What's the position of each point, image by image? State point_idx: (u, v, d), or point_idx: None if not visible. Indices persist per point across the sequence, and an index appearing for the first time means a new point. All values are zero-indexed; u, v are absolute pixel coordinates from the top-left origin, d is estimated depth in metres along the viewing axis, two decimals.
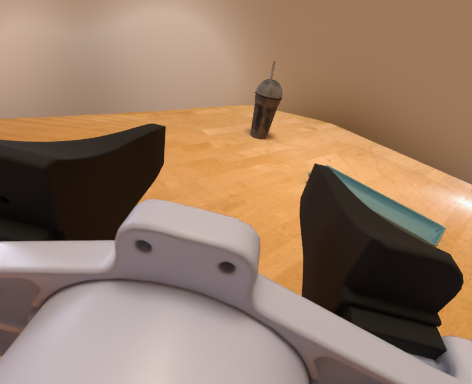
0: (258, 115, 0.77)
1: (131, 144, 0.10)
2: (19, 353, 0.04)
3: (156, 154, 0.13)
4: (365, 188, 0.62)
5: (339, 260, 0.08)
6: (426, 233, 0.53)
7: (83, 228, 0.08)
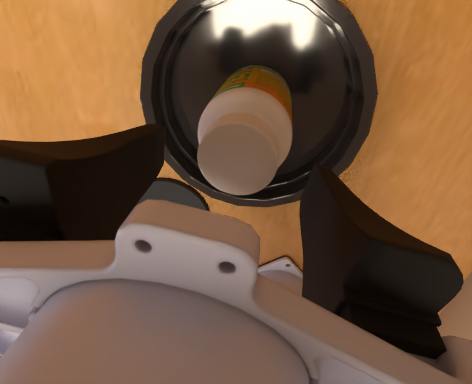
0: None
1: (131, 144, 0.10)
2: (19, 353, 0.04)
3: (156, 154, 0.13)
4: None
5: (339, 260, 0.08)
6: None
7: (83, 228, 0.08)
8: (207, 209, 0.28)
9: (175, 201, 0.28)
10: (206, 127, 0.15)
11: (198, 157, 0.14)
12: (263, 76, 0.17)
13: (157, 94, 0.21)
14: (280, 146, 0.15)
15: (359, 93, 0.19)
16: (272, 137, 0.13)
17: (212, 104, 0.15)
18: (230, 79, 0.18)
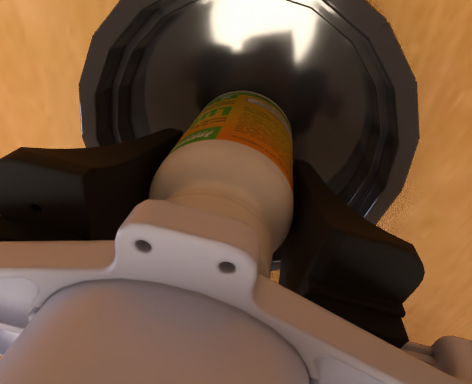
0: None
1: (153, 149, 0.10)
2: (19, 353, 0.04)
3: None
4: None
5: (307, 252, 0.08)
6: None
7: (110, 235, 0.08)
8: None
9: None
10: None
11: None
12: (251, 112, 0.12)
13: (109, 129, 0.15)
14: (275, 231, 0.10)
15: (389, 133, 0.13)
16: (259, 236, 0.08)
17: (166, 167, 0.09)
18: (203, 115, 0.12)
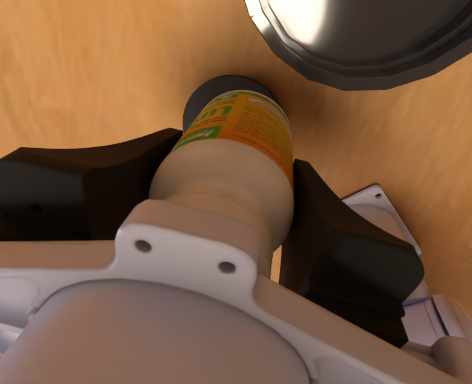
0: None
1: (153, 149, 0.10)
2: (19, 353, 0.04)
3: None
4: None
5: (307, 252, 0.08)
6: None
7: (110, 235, 0.08)
8: None
9: None
10: None
11: None
12: (251, 112, 0.12)
13: None
14: (275, 230, 0.10)
15: None
16: (260, 236, 0.08)
17: (167, 166, 0.09)
18: (204, 114, 0.12)
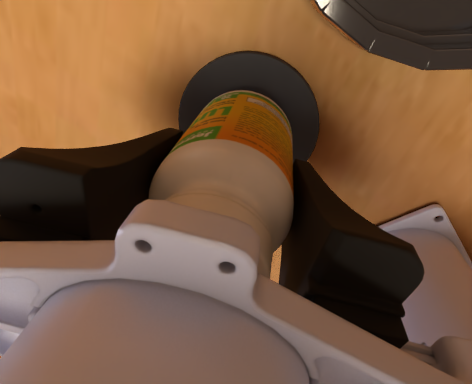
0: None
1: (153, 149, 0.10)
2: (19, 353, 0.04)
3: None
4: None
5: (307, 252, 0.08)
6: None
7: (110, 235, 0.08)
8: None
9: None
10: None
11: None
12: (251, 112, 0.12)
13: None
14: (275, 230, 0.10)
15: None
16: (259, 236, 0.08)
17: (166, 167, 0.09)
18: (203, 114, 0.12)
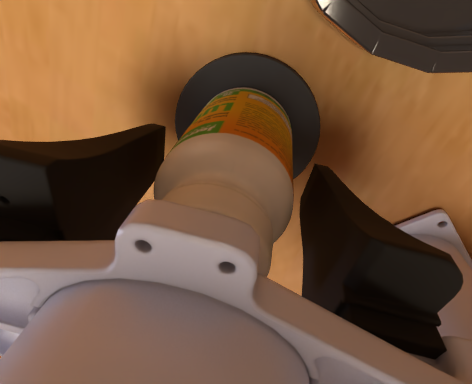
0: None
1: (130, 143, 0.10)
2: (19, 353, 0.04)
3: (156, 154, 0.13)
4: None
5: (339, 260, 0.08)
6: None
7: (83, 228, 0.08)
8: None
9: None
10: (163, 192, 0.10)
11: None
12: (252, 108, 0.12)
13: None
14: (275, 221, 0.10)
15: None
16: (261, 224, 0.08)
17: (171, 159, 0.10)
18: (206, 110, 0.13)
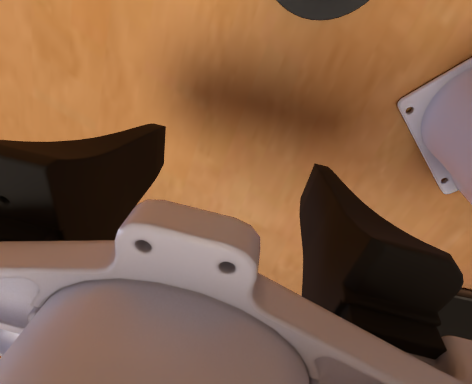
0: None
1: (130, 143, 0.10)
2: (19, 353, 0.04)
3: (156, 154, 0.13)
4: None
5: (339, 260, 0.08)
6: None
7: (83, 228, 0.08)
8: None
9: None
10: None
11: None
12: None
13: None
14: None
15: None
16: None
17: None
18: None
